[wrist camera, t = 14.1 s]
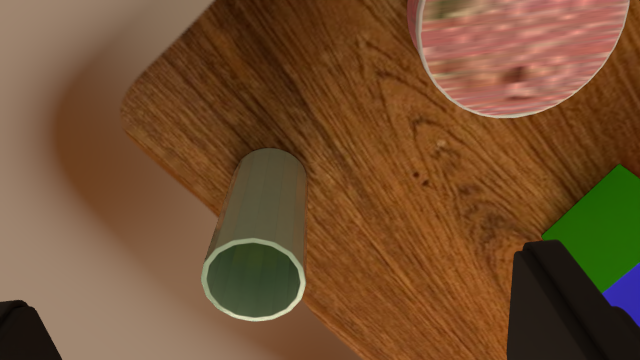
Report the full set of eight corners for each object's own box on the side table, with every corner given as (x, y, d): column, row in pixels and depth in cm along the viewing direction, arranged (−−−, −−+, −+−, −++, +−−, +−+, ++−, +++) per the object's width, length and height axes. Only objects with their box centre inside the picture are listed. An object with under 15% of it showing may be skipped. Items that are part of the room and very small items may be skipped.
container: (389, -80, 29) (414, -85, 22) (566, -105, 29) (649, -118, 22) (398, 88, 34) (421, 130, 27) (550, 69, 34) (615, 106, 26)
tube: (226, 153, 36) (189, 245, 25) (301, 143, 36) (296, 232, 25) (242, 217, 39) (215, 326, 28) (312, 208, 38) (312, 314, 28)
